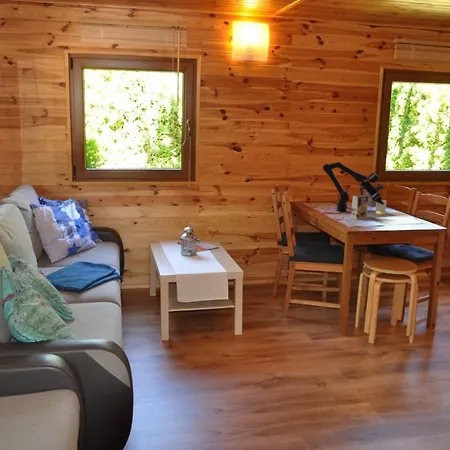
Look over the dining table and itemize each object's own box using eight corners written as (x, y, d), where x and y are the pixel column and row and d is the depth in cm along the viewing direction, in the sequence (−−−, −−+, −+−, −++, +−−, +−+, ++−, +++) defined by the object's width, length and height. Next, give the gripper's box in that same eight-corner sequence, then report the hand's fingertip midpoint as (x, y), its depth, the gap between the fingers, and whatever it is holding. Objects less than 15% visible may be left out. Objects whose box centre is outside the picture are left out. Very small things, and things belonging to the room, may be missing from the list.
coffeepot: (373, 204, 429) (375, 183, 426) (379, 206, 420) (381, 184, 417) (356, 204, 426) (357, 182, 422) (361, 206, 417) (363, 184, 413)
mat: (372, 218, 368) (372, 217, 367) (354, 213, 385) (354, 212, 385) (398, 216, 378) (398, 216, 378) (379, 212, 396) (379, 211, 395)
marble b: (380, 216, 374) (380, 212, 373) (377, 215, 377) (377, 211, 376) (383, 216, 375) (384, 212, 375) (380, 215, 378) (381, 211, 377)
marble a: (378, 215, 377) (378, 211, 377) (375, 214, 380) (375, 210, 380) (381, 215, 379) (381, 211, 378) (378, 214, 381) (378, 210, 381)
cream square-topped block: (385, 214, 383) (386, 201, 381) (375, 213, 384) (376, 200, 382) (384, 212, 389) (386, 200, 387) (375, 212, 391) (376, 199, 389)
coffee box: (356, 220, 361) (358, 196, 358) (350, 218, 367) (352, 195, 363) (366, 219, 365) (368, 196, 362) (360, 217, 371) (362, 195, 368)
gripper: (378, 181, 374) (392, 198, 374) (377, 179, 392) (391, 194, 391) (365, 192, 377) (380, 208, 377) (365, 188, 395) (379, 204, 395)
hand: (383, 203), depth 385 cm, fingers open, 8 cm apart
